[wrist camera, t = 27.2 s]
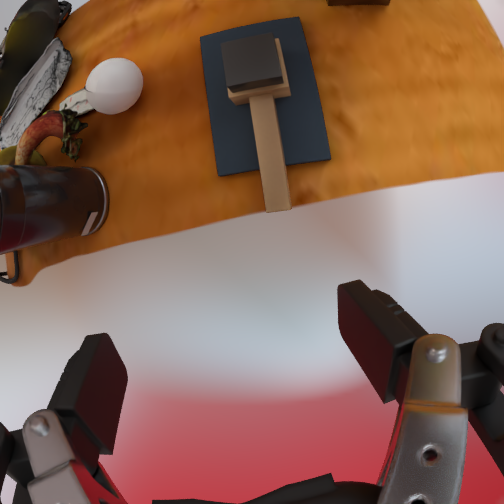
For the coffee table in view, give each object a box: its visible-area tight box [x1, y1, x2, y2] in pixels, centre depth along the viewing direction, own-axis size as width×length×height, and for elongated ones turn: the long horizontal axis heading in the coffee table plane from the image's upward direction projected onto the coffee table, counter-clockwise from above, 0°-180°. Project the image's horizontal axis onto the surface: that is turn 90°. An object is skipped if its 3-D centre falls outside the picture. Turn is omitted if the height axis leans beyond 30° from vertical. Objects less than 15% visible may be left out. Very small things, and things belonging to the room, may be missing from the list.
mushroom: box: [0, 103, 88, 166], centre depth 31 cm, size 12×12×15 cm
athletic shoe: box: [0, 0, 60, 116], centre depth 30 cm, size 12×25×12 cm
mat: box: [200, 17, 331, 176], centre depth 30 cm, size 12×18×1 cm, turn 9°
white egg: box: [84, 58, 143, 115], centre depth 30 cm, size 10×7×7 cm
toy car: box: [57, 1, 72, 28], centre depth 31 cm, size 6×12×4 cm, turn 60°
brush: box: [221, 33, 292, 213], centre depth 27 cm, size 6×18×5 cm, turn 8°
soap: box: [59, 88, 94, 116], centre depth 34 cm, size 10×4×1 cm, turn 94°
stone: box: [0, 37, 72, 150], centre depth 34 cm, size 22×3×10 cm
